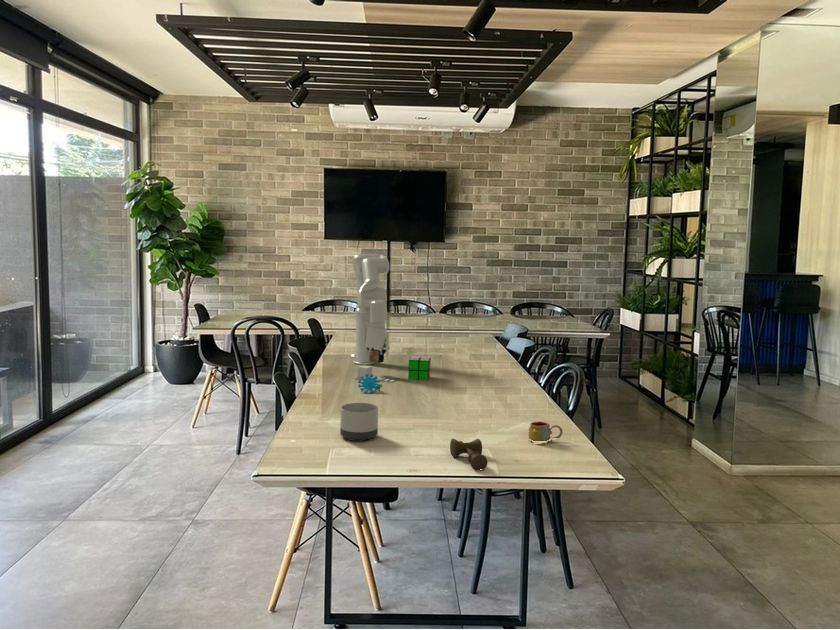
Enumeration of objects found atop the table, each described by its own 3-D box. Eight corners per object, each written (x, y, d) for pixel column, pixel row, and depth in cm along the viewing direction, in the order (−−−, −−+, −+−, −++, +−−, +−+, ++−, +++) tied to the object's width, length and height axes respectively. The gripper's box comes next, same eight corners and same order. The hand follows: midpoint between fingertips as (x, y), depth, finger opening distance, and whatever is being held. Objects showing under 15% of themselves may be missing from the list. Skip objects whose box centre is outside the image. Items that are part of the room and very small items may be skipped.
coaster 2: (377, 381, 308) (377, 380, 308) (387, 378, 315) (387, 377, 314) (391, 383, 304) (391, 382, 304) (400, 380, 310) (400, 380, 310)
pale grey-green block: (357, 379, 310) (357, 366, 309) (363, 377, 314) (363, 365, 313) (365, 380, 307) (366, 368, 306) (371, 378, 311) (372, 366, 311)
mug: (531, 445, 218) (532, 426, 217) (525, 438, 224) (527, 420, 223) (565, 445, 219) (566, 426, 218) (559, 438, 226) (560, 420, 225)
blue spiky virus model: (354, 389, 282) (361, 371, 288) (355, 396, 287) (362, 378, 293) (378, 394, 281) (385, 376, 287) (379, 401, 285) (385, 383, 291)
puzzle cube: (430, 376, 322) (430, 357, 321) (428, 380, 312) (429, 360, 311) (410, 375, 323) (411, 356, 322) (408, 379, 313) (408, 359, 312)
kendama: (464, 473, 190) (445, 450, 209) (494, 472, 192) (473, 449, 211) (465, 454, 189) (446, 432, 208) (496, 453, 191) (474, 432, 211)
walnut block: (369, 362, 318) (369, 350, 318) (375, 360, 323) (375, 349, 322) (377, 363, 316) (378, 351, 315) (383, 361, 320) (383, 350, 319)
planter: (381, 441, 216) (382, 411, 214) (343, 443, 212) (344, 413, 211) (373, 430, 228) (373, 402, 227) (337, 432, 224) (338, 403, 223)
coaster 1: (353, 379, 309) (353, 379, 309) (363, 377, 316) (363, 376, 316) (366, 382, 305) (366, 381, 305) (376, 379, 312) (376, 378, 312)
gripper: (359, 324, 318) (358, 360, 320) (387, 327, 310) (386, 364, 312) (367, 323, 325) (367, 358, 327) (395, 326, 316) (394, 362, 318)
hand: (376, 361), depth 319 cm, fingers closed on walnut block, 5 cm apart
